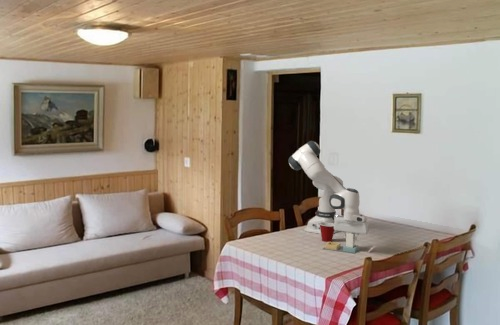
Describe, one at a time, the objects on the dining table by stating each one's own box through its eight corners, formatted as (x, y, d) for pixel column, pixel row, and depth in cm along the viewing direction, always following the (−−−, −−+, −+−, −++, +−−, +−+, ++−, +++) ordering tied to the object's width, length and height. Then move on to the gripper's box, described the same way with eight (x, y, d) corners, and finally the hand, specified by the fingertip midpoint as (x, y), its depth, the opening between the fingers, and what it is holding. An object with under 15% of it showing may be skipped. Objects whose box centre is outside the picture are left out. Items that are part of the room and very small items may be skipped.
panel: (322, 250, 307) (322, 245, 306) (329, 245, 317) (329, 240, 317) (355, 255, 297) (355, 249, 297) (361, 250, 308) (361, 244, 307)
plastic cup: (338, 243, 322) (339, 225, 320) (322, 244, 320) (322, 225, 318) (332, 239, 332) (332, 221, 331) (316, 240, 330) (316, 221, 329)
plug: (346, 246, 303) (346, 231, 302) (348, 245, 307) (348, 230, 306) (352, 247, 301) (353, 232, 300) (354, 246, 305) (355, 231, 304)
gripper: (332, 215, 304) (331, 238, 306) (366, 219, 295) (366, 243, 296) (336, 213, 310) (335, 236, 311) (369, 217, 300) (369, 240, 302)
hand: (350, 239), depth 304 cm, fingers closed on plug, 4 cm apart
